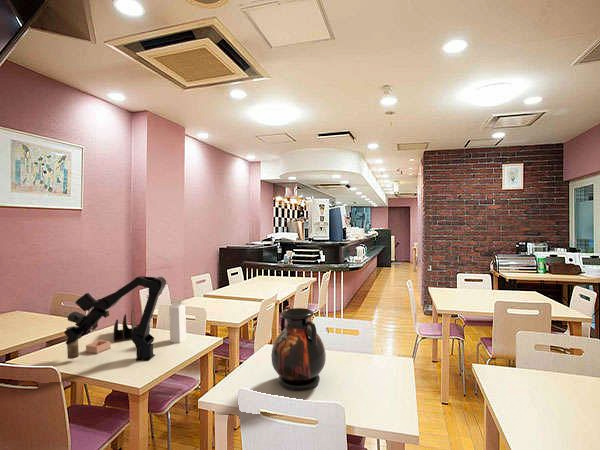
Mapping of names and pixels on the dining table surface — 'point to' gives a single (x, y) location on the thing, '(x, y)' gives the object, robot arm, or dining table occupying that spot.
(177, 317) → the milk
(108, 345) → the pink open box
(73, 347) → the brown tall cylinder
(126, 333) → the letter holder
